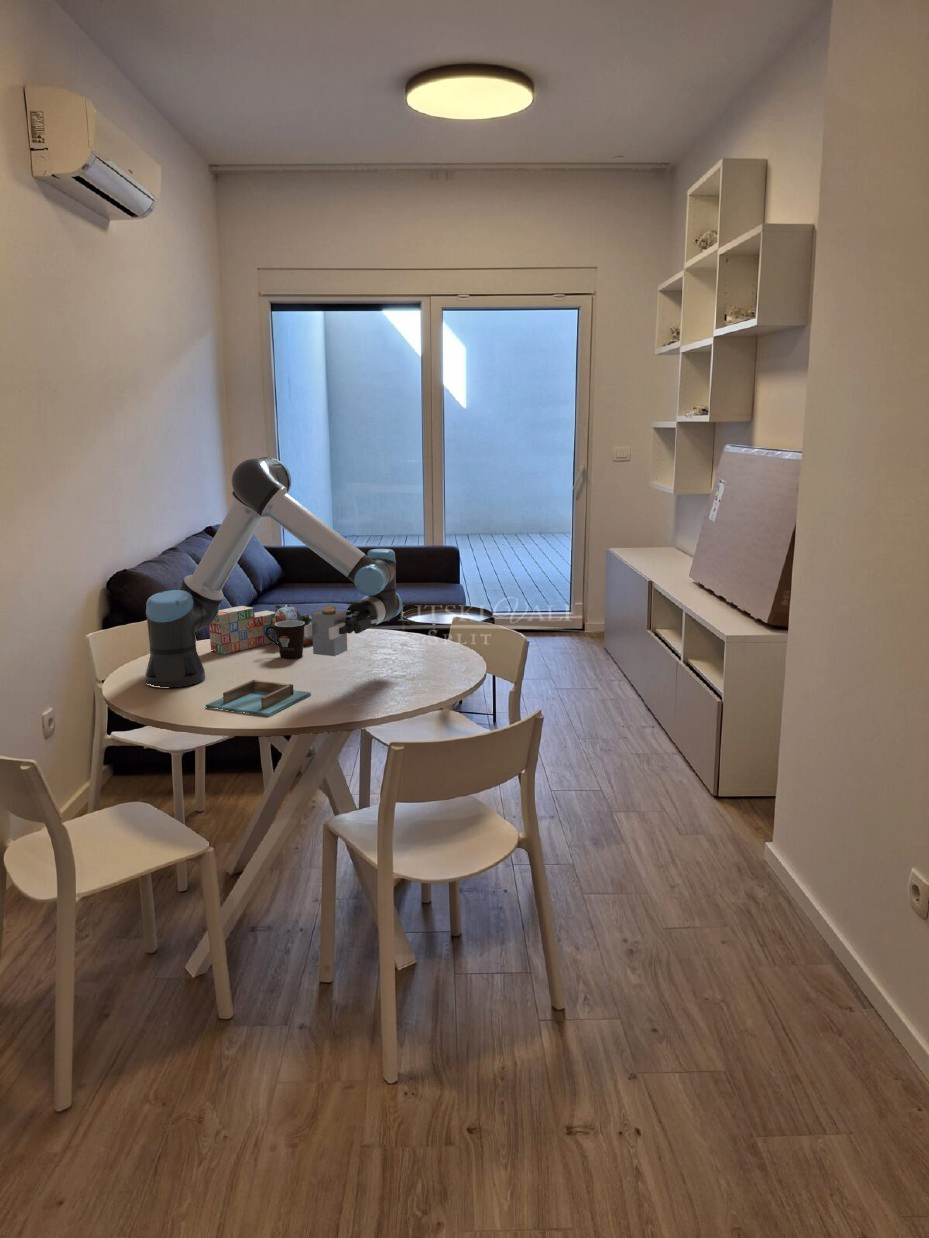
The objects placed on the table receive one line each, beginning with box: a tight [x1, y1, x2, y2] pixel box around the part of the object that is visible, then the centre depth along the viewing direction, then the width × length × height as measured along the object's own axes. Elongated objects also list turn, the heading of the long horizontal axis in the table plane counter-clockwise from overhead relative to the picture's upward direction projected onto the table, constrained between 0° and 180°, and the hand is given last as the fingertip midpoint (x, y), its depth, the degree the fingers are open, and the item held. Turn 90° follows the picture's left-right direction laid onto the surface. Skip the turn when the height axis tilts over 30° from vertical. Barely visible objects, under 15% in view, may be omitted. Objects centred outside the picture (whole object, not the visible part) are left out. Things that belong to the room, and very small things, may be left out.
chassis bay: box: [205, 679, 312, 718], centre depth 214 cm, size 18×18×3 cm
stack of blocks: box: [208, 605, 278, 655], centre depth 268 cm, size 21×6×12 cm, turn 140°
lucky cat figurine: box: [273, 604, 313, 647], centre depth 272 cm, size 15×12×14 cm
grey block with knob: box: [311, 605, 348, 657], centre depth 212 cm, size 6×6×11 cm
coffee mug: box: [266, 620, 305, 661], centre depth 256 cm, size 12×9×10 cm
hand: (318, 632), depth 207 cm, fingers closed on grey block with knob, 6 cm apart
